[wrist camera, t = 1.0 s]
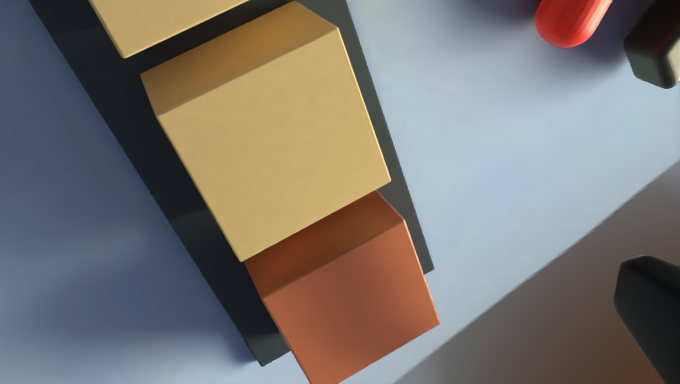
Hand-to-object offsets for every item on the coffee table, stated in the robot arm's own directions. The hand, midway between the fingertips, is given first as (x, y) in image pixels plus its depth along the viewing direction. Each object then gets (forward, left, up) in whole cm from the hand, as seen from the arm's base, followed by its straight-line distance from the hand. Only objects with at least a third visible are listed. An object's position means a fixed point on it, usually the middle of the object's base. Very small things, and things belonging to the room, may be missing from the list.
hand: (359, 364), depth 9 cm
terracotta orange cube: (+1, -7, -12) cm, 14 cm away
